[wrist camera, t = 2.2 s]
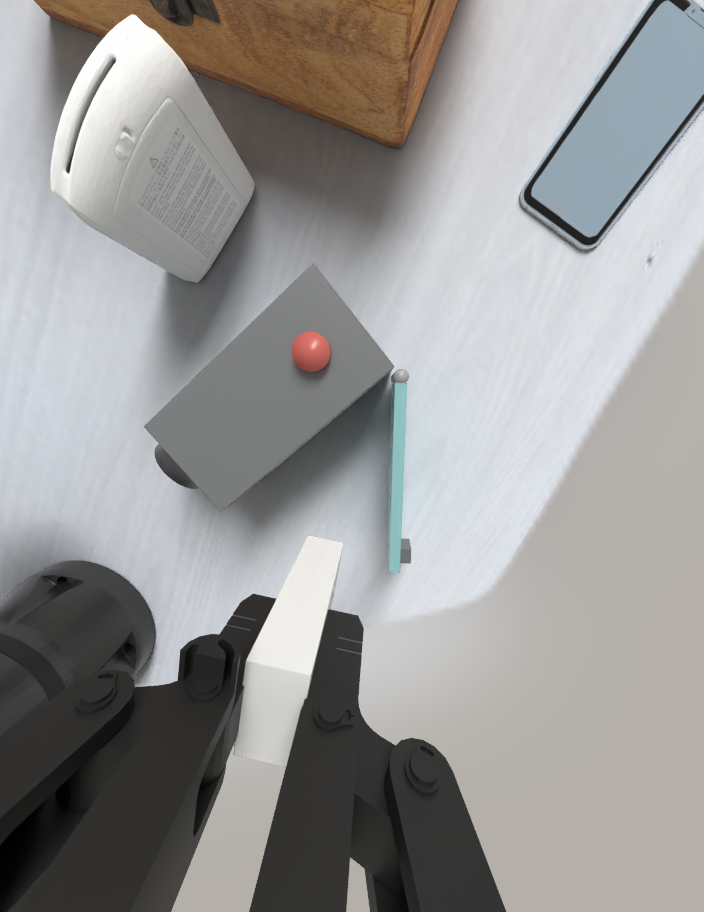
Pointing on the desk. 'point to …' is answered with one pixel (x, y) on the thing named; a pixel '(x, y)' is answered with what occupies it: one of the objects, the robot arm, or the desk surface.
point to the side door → (397, 474)
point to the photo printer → (148, 155)
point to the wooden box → (298, 51)
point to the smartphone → (622, 125)
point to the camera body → (267, 392)
